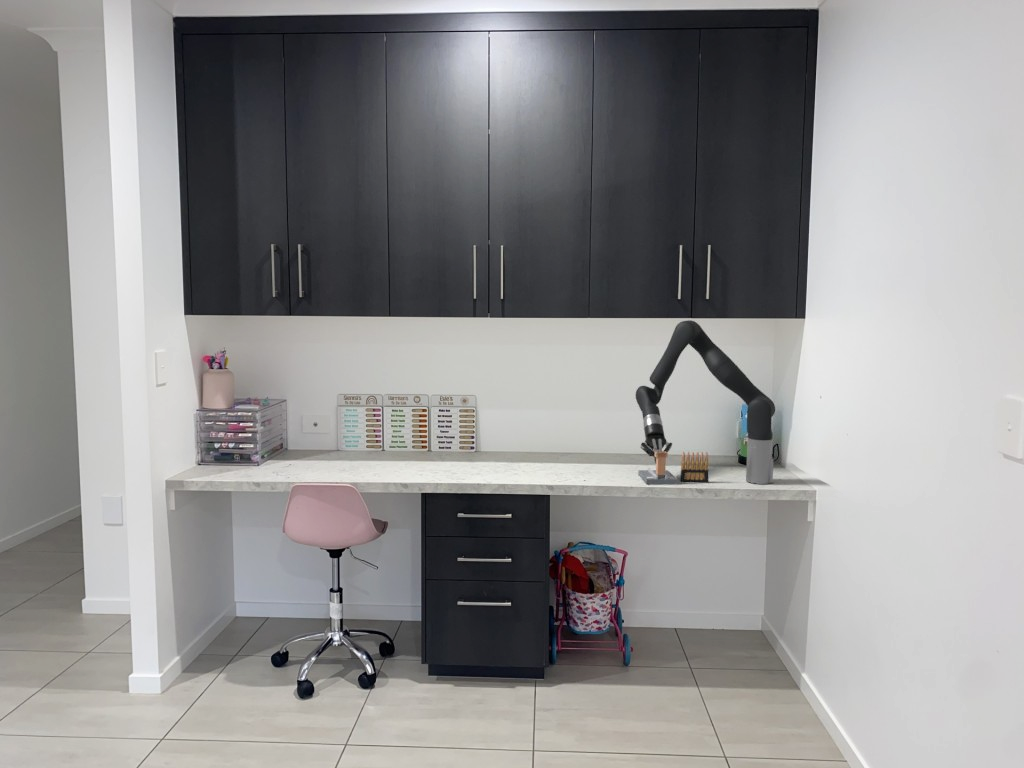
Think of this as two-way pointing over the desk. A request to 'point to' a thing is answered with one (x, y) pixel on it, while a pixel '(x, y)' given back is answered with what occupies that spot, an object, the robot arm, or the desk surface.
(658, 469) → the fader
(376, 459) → the desk surface
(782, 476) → the desk surface
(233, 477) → the desk surface
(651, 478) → the fader console
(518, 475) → the desk surface
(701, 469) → the ammunition clip
